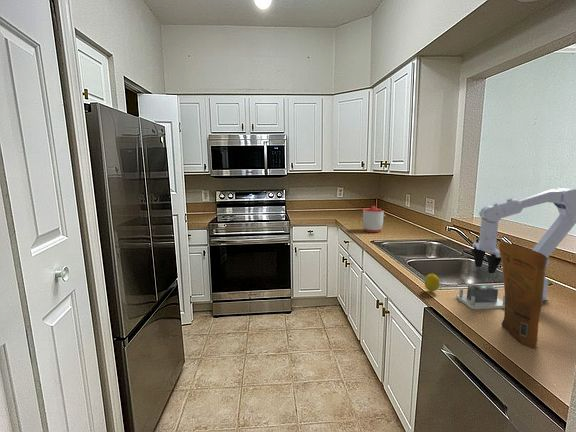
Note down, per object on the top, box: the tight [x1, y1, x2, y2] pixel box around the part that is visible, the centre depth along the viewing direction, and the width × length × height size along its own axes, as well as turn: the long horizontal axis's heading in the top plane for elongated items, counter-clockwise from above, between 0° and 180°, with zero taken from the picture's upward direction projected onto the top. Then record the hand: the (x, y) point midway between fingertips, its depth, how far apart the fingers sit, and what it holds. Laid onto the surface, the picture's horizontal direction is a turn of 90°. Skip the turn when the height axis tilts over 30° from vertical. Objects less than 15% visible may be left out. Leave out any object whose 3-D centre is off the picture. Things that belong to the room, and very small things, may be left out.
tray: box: [456, 288, 505, 310], centre depth 120 cm, size 14×10×4 cm
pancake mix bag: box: [498, 240, 549, 350], centre depth 96 cm, size 7×19×28 cm, turn 173°
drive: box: [466, 284, 499, 303], centre depth 120 cm, size 9×4×5 cm, turn 93°
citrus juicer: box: [362, 205, 387, 233], centre depth 243 cm, size 16×17×20 cm
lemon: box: [424, 272, 440, 293], centre depth 130 cm, size 6×6×8 cm
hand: (484, 269), depth 128 cm, fingers open, 7 cm apart
